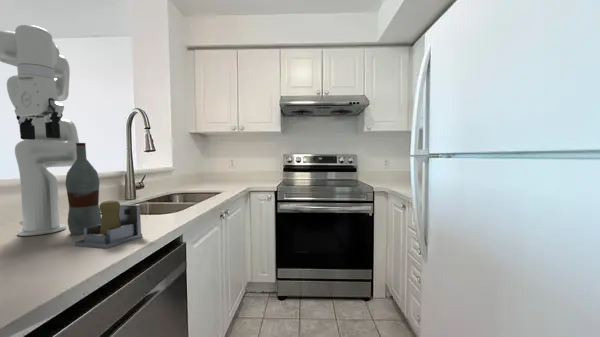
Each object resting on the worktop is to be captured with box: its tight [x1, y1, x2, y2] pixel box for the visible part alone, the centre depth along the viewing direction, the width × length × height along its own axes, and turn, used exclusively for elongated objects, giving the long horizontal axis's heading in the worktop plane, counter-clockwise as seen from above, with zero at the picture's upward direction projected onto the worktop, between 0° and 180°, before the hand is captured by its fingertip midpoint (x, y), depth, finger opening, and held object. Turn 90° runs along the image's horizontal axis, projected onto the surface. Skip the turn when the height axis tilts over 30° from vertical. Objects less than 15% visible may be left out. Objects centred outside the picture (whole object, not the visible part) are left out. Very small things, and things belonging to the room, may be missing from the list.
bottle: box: [65, 142, 102, 236], centre depth 101 cm, size 9×9×30 cm
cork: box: [99, 200, 121, 235], centre depth 89 cm, size 6×6×11 cm
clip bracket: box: [74, 203, 143, 249], centre depth 89 cm, size 12×12×10 cm
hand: (40, 138), depth 81 cm, fingers open, 9 cm apart
